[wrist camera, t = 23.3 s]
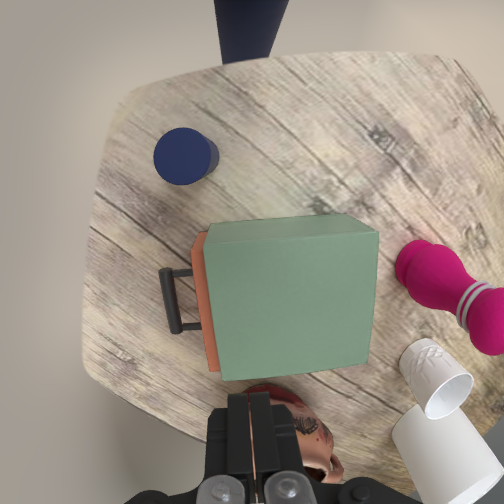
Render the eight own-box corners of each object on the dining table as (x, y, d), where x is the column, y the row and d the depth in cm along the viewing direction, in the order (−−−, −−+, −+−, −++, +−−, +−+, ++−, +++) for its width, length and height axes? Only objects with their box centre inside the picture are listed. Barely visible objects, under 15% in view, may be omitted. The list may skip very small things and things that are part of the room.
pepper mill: (444, 267, 36) (550, 340, 17) (404, 300, 37) (498, 395, 18) (425, 223, 34) (549, 284, 15) (382, 259, 35) (491, 349, 16)
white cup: (442, 328, 39) (480, 365, 29) (433, 369, 41) (464, 408, 32) (398, 340, 39) (432, 384, 29) (391, 382, 41) (418, 427, 31)
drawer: (179, 338, 36) (169, 373, 29) (160, 235, 32) (143, 255, 25) (327, 324, 36) (344, 357, 30) (328, 221, 32) (350, 237, 26)
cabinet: (224, 335, 37) (222, 381, 29) (210, 223, 33) (202, 246, 25) (343, 322, 37) (367, 363, 29) (346, 213, 33) (379, 231, 25)
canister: (387, 452, 47) (421, 530, 28) (397, 408, 43) (446, 498, 24) (444, 429, 47) (486, 496, 28) (460, 384, 43) (517, 455, 24)
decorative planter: (355, 397, 41) (386, 467, 28) (310, 445, 44) (326, 512, 31) (232, 356, 38) (233, 441, 24) (196, 413, 41) (187, 492, 27)
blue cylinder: (178, 140, 30) (150, 132, 20) (217, 135, 30) (208, 124, 20) (182, 178, 31) (156, 188, 21) (220, 174, 31) (213, 182, 21)
